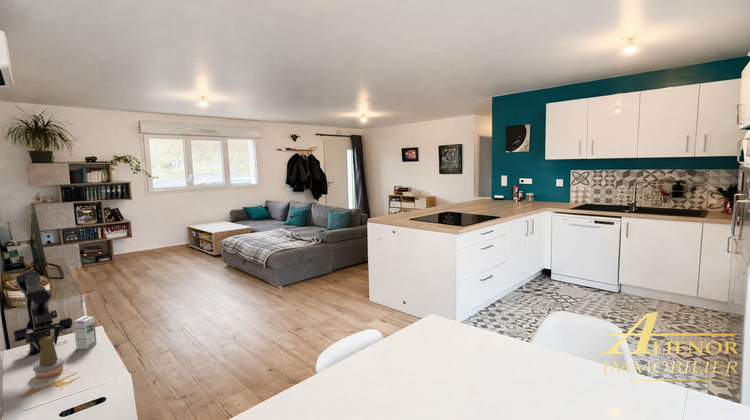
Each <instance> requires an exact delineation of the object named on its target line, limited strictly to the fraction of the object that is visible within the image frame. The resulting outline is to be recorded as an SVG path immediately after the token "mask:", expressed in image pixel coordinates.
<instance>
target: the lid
mask: <svg viewBox="0 0 750 420" xmlns="http://www.w3.org/2000/svg"><path fill="white" fill-rule="evenodd" d="M57 358H58V360H57V361H56V362H54V363H52V364H48V365H39V362H38V363H36V364H35V365H33V366H32V371H33V372H34V373H35V372H45V371H49V370H52V369H55V368H57V367H59V366H61V365H62V364H63V365H64V363H65V360H64V358H62V357H57Z"/></svg>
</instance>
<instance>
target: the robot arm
mask: <svg viewBox="0 0 750 420" xmlns="http://www.w3.org/2000/svg"><path fill="white" fill-rule="evenodd" d="M40 276H41V275H40V273H39V272H37V271H35V270H33V271H24V272H22V273H21V274H20V275H17V276H16V277H15V286H16V287H18V290H19V291H20V292H21V293H22V294H24V295H23V296H24V302H25V306H26V311H27V316H28V322H27V324H26V326H25V327H24V328H19V329H15V330H14V331H13V333H12V335H13V336H12V337H13V342H14V343H15V342H16V343H17V342H21V341H24V342H25V343H26V344H28V343H29V351H28V356H31V355H32V356H33V355H37V354H40V348H41V346H39V340H40V339H41V338H43V337H46V336H52V333H51V330H53V337H54V338H55V342H54V343H53V344H54V346H57V344H58V338H59V336H60V333H62V332H64V331H63V330H68V329H71V328H72V325H73V319H72V318H71V317H66V318H62V319H60V320H59V322H57V323H54V322H53V319H57V318H58V312H57V310H51V311H50V309H49V305H50V299H51V298H52V293H51V292H50V291H49V290H46V287H45V286H43V285H40V282H41V277H40Z"/></svg>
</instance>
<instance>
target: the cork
mask: <svg viewBox="0 0 750 420" xmlns="http://www.w3.org/2000/svg"><path fill="white" fill-rule="evenodd" d="M54 342H55V338H54V335H51V336H46V337H43V338H41V339H40V340H39V346H41V348H40V353H39V360H38V361H39V362H38V363H39V365H48V364H52V363H54V362H56V361H57V360H58V358H59V357H58V355H57V352H56V347H55V343H54Z"/></svg>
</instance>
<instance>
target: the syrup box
mask: <svg viewBox="0 0 750 420" xmlns="http://www.w3.org/2000/svg"><path fill="white" fill-rule="evenodd" d="M95 323H96V322H95V317H94V315H84V316H81V317H80V318H78V319H75V320H73V326H74V328H73V329H74V337H75V345H76V346H75V347H76V349H77V350H78V349H79V350H80V349H81V350H88V349H90V348H91V347H94V346H95V345H96V344H97V334H96V326H95Z"/></svg>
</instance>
